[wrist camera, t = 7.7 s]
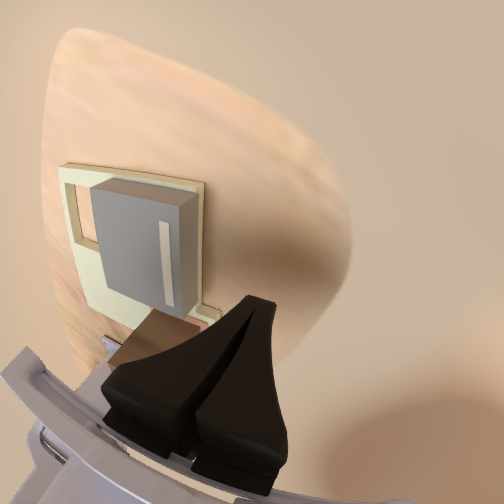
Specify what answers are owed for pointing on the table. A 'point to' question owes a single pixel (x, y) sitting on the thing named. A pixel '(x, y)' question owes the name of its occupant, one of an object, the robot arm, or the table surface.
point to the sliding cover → (148, 243)
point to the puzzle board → (89, 253)
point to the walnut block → (153, 338)
